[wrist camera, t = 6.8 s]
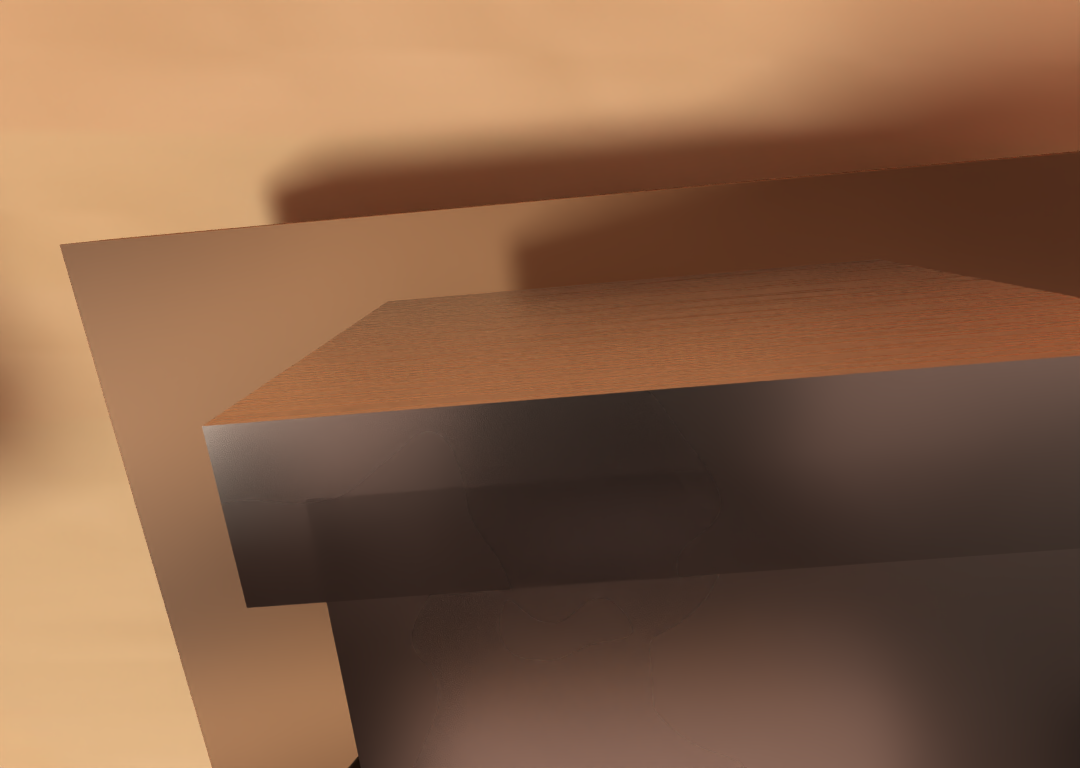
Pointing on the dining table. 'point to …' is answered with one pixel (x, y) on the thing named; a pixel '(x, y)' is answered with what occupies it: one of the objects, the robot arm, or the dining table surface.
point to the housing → (684, 521)
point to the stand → (448, 270)
